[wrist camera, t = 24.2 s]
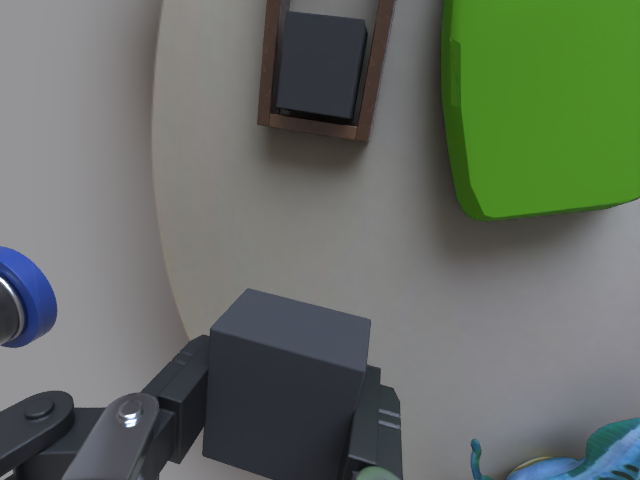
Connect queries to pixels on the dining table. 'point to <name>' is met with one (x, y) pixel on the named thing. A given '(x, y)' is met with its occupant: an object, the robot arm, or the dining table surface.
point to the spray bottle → (541, 105)
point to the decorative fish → (593, 470)
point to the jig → (271, 74)
